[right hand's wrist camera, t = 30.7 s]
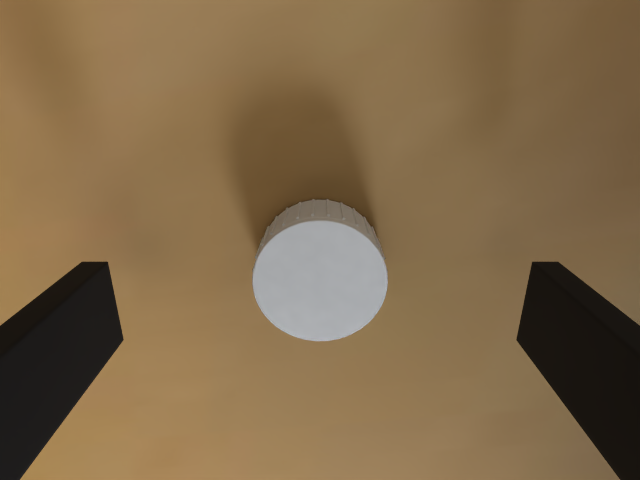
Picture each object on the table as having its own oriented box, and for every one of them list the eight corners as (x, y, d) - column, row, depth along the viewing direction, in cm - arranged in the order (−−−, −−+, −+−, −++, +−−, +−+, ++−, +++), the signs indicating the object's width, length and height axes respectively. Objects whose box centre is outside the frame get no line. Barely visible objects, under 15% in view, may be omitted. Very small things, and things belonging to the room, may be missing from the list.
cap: (361, 317, 17) (367, 353, 15) (250, 294, 17) (240, 328, 14) (394, 213, 15) (407, 236, 13) (272, 184, 15) (264, 204, 13)
